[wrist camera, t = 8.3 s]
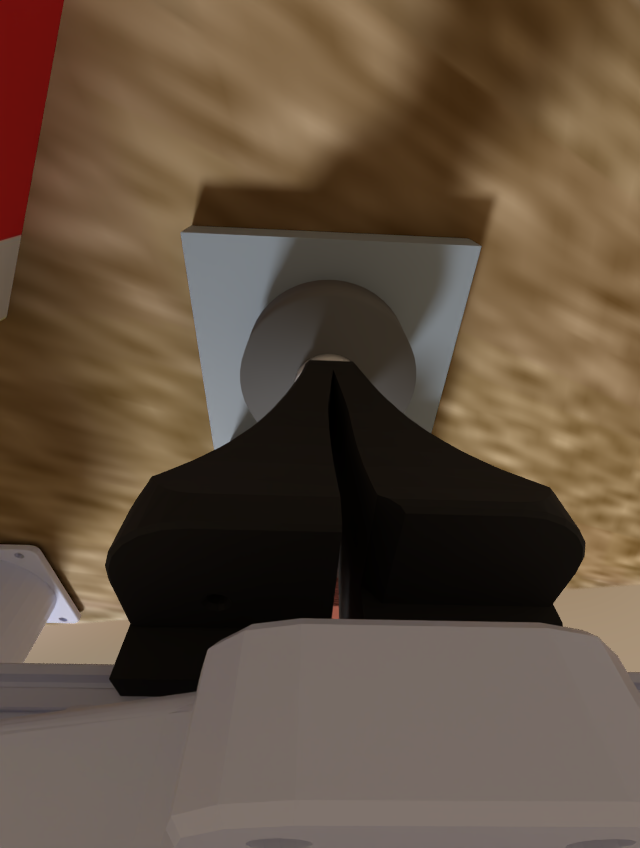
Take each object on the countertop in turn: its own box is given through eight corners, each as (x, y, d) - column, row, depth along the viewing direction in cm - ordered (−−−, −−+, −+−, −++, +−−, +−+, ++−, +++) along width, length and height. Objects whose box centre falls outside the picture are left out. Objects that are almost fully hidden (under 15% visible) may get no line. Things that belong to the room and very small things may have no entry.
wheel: (252, 421, 14) (243, 459, 12) (241, 276, 11) (227, 298, 9) (392, 426, 14) (403, 464, 13) (420, 283, 11) (438, 307, 9)
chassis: (236, 551, 22) (223, 614, 19) (191, 225, 12) (150, 250, 9) (390, 554, 22) (401, 617, 19) (468, 238, 12) (516, 267, 10)
